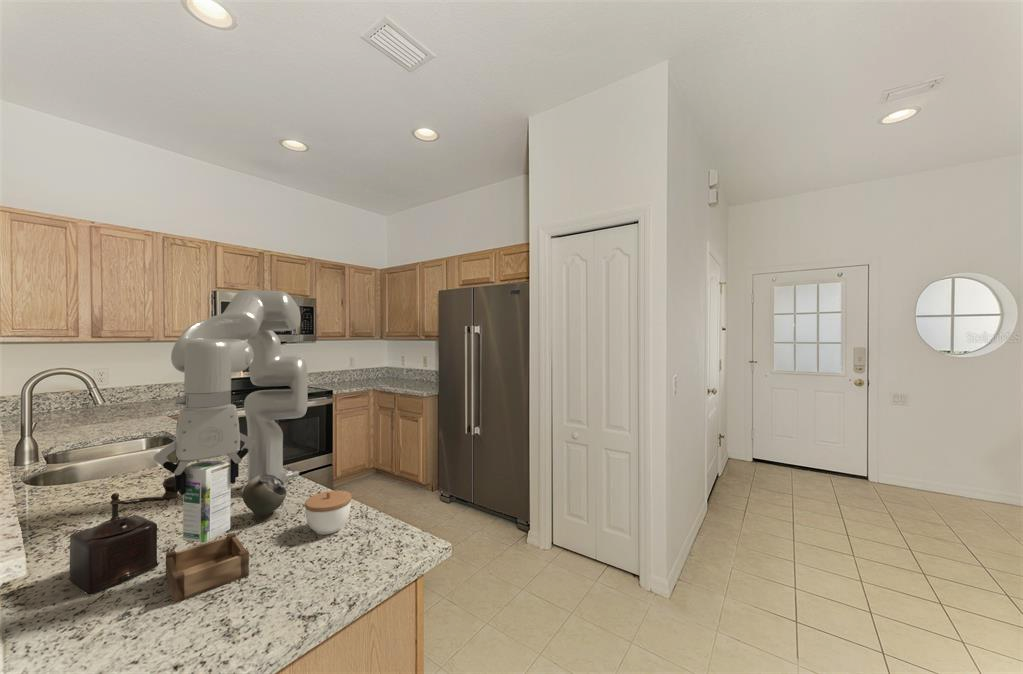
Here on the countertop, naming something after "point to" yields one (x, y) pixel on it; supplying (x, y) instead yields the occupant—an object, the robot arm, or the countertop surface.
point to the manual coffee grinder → (116, 547)
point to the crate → (206, 567)
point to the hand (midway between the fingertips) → (207, 486)
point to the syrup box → (206, 500)
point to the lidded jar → (328, 511)
